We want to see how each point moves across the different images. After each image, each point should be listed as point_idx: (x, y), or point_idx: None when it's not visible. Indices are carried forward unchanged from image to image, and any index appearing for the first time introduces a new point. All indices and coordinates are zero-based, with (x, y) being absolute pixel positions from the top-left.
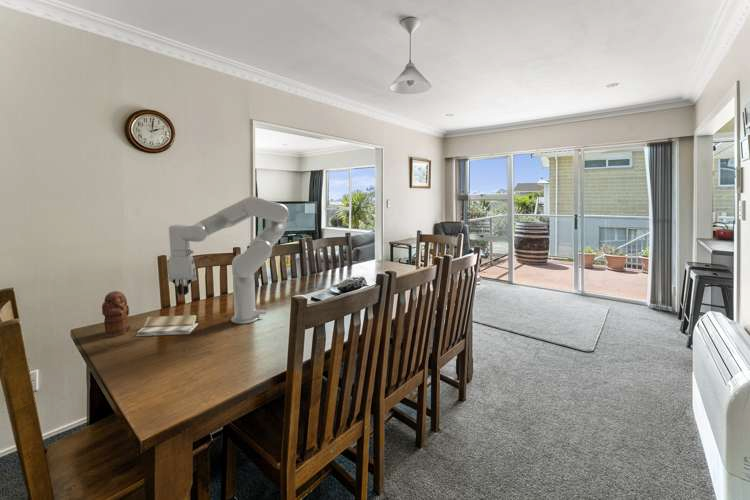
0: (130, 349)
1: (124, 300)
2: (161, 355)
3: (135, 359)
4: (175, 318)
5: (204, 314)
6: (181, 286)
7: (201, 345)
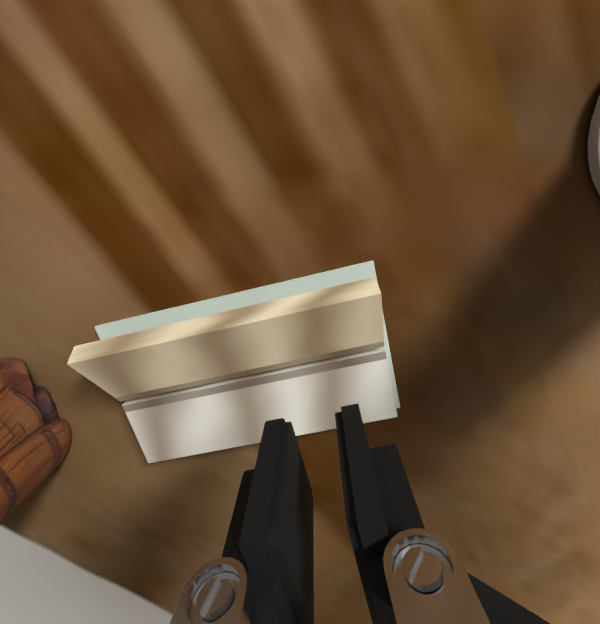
0: None
1: None
2: None
3: (327, 616)
4: (253, 338)
5: (310, 40)
6: (293, 559)
7: (522, 513)
